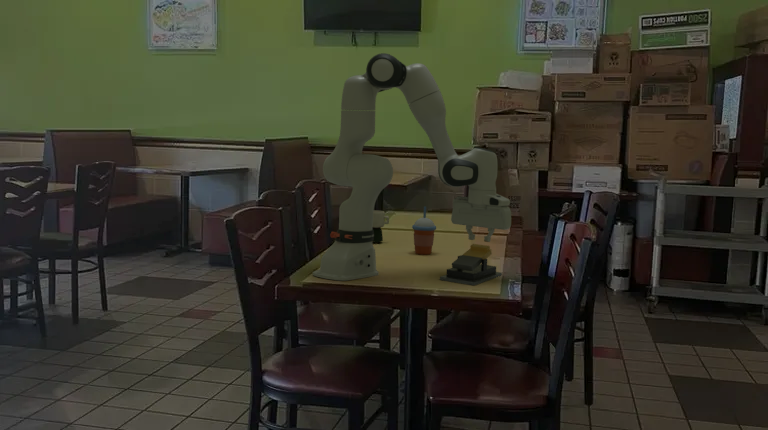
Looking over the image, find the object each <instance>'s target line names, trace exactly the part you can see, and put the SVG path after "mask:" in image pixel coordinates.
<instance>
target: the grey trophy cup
mask: <svg viewBox="0 0 768 430" xmlns="http://www.w3.org/2000/svg"><path fill="white" fill-rule="evenodd" d="M385 213H386V212H385V211H383V210H375V209H374V211H373V226H372V229H373V230H374V240H373V241H372V243H381V242H383V241H384V239H383V238H384V237H383V230H382V228H383V227H384V226H385V225H388V224H390V216H389V215H385ZM385 219H386V221H385Z"/></svg>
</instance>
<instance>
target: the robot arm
mask: <svg viewBox="0 0 768 430" xmlns="http://www.w3.org/2000/svg"><path fill="white" fill-rule="evenodd" d="M365 71H366V72H364V73H363V74H361V75H360V74H357V75H352V76H350V77H348V78H347V79H346V80H345V81H344V84H343V89H342V95H341V105H340V106H341V107H340V109H341V110H340V130H339V131H340V132H339V137H338V140H337V143H336V145H335V148H334V149H333V151H332V152H331V153H330V154H329V155H328V156H327V157H326V158H325V160H324V162H323V164H322V173H323V176H324V179H325V180H326V181H327V182H328V183H331V184H334V185H337V186H341V187H351V188H352V190H351V193H350V196H349V198H347V199H345V200H344V201H343V202H342V203H341V204H340V205H339V210H338V211H339V213H338V215H339V216H338V218H339V219H338V229H337V230H336V231H331V233H330V234H329V236H330V238H332V239H333V238H334V242H333V243H332V244H331V246H330V247H329V248H328V249H327V250H326V251H325V252H324V254H323V255H322V257H321V260H320V266H319V267H320V268H319V269H317V270H315V271H312V275H313V276H314V277H318V278H321V279H327V280H333V281H334V280H335V281H341V282H342V281H343V282H344V281H352V280H357V279H364V278H365V279H366V278H370V277H376V276H379V275H380V274H379V271H378V270H377V259H376V258H377V257H376V249H375V247H374V244H373V243H374V242H372V241H373V240H374V230H373V229H372V226H373V211H374V210H375V205H376V201H377V199H378V197H379V196H380V194H381V192H382V191H383V190H384V189H385V188H386V187H388V186H389V184H390V183H391V181H392V179H393V175H394V167H393V164H392V162H391V160H389V158H386V157H383V156H381V155H378V154H377V155H376V154H370V153H369V154H368V153H366V154H365V153H362V152H363V149H364V146H365V144H366V143H367V142H368V141H370V140H372V139H373V137H374V136H375V133H376V102H377V101H376V100H377V95H378V93H381V92H384V91H388V90H391V89H394V88H397V89H398V90H400V91H401V93H402V94H403V96H404V99H405V101H406V103H407V105H408V107H409V109H410V112H411V114H412V115H413V116H414V119H415V120H416V121H417V123H418V124H419V126H420V127H421V128H422V129H423V130H424V133H426V136H427V137H428V138H429V141H430V143H431V146H432V148H433V151H434V153H435V156H436V158H437V163H438V165H437V166H438V167H437V168H438V169H437V171H438V173H437V174H438V177H439V179H440V181H441V182H442V183H443V184H445V185H446V186H448V187H453V188H461V187H464V186H468V195H467V196H457V197H455V198H454V199H453V201H452V210H451V211H452V212H451V218H450V221H451V223H452V224H453V225H460V226H465V230H466V232H467V234H468V240H469V241H470V240H471V241H474V240H475V239H476V234H475V233H473V231H472V229H474V228H473V227H477V228H485V229H487V232H488V234H487V235H484V237H483V241H484V242H486V243H491V239H492V235H493V234H494V233H495V229H496V230H500V231H501V230H503V231H506V230H509V229H510V228H511V226H512V211H511V210H512V209H510V207H509V206H510V204H511V200H510V199H509V198H507V197H505V196H503V195H501V194H498V193H497V186H496V183H497V182H496V181H497V178H498V164H499V163H498V157H497V153H495V152H494V151H493V150H491V149H487V148H484V147H483V148H482V147H474V148H472V149H471V150H470V151H468V152H465V153H463V154H460V155H458V153H457V152H456V150H455V148H454V146H453V142H452V141H451V137H450V135H449V134H448V131H447V126H446V115H447V109H446V104H445V101H444V98H443V95H442V92H441V89H440V87H439V85H438V83H437V82H436V80H435V77H434V76H433V74H432V73H431V71H430V70H429V68H428V67H427V66H426V65H425V64H423V63H417V62H416V63H411V64H409V65H406V64H404V63H403V62H402V61H400V60H399V59H397V58H396V57H395V56H393V55H392V54H389V53H384V52H383V53H378V54H375V55H373V56H372V57H371V58H370V59H369V60H368V62H367V65H366V70H365Z"/></svg>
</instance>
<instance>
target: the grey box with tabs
mask: <svg viewBox="0 0 768 430" xmlns="http://www.w3.org/2000/svg"><path fill="white" fill-rule="evenodd" d="M462 255H463V254H460V255H457V259H458V258H459V257H460V256H462ZM501 275H502V276H503V272H501V271H497V266H495V265H489V264H488V258H487V259H482V263H481V264H480V265H479V266H477V267H476V268H475V269H474V270H473V271H468V270H462V269H456V268H452V267H449V268H447V269H446V274H445V275H440V277H439V281H445V282H451V283H455V284H462V285H469V286H477V285H480V284H483V283H485V282H488V281H491V280H493V279H496V277H497V278H499V277H502V276H501ZM498 276H499V277H498Z"/></svg>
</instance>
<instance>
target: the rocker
mask: <svg viewBox="0 0 768 430" xmlns="http://www.w3.org/2000/svg"><path fill="white" fill-rule="evenodd" d="M492 254H493V252H492V249H491V246H490V245H485V244H478V243H472V244H471V245H470V248H469V249H467V250H466V251H465V252H464V253H463V254H461V255H462V256H460V255H459V256H460V257H459V258H458V257H457V258H456V259H455V260H454V261H453V262H452V263H451V268H456V269H462V270H468V271H473V270H474V269H475V268H476V267H477V266H479V265H480V264H482V259H487V260H488V258H489V257H490V256H491V255H492Z"/></svg>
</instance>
